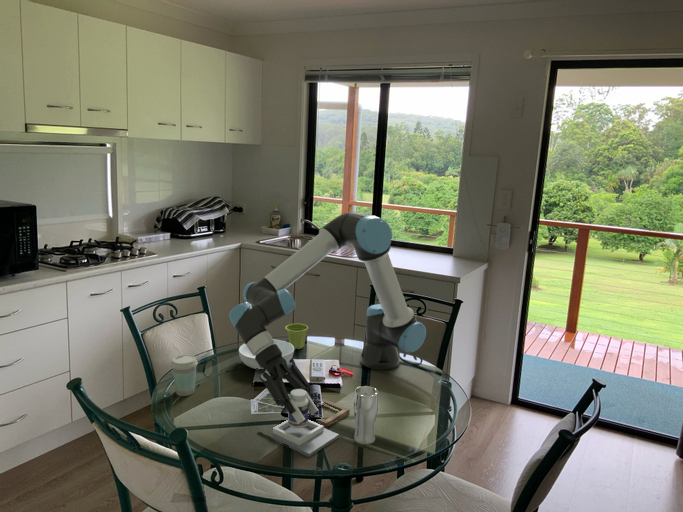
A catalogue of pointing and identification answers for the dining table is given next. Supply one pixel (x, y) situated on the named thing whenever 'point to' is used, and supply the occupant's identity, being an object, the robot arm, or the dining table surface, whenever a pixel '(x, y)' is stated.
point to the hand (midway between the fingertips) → (308, 416)
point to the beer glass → (365, 414)
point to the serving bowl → (250, 360)
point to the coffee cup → (184, 374)
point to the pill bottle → (302, 404)
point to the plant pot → (297, 335)
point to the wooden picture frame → (335, 417)
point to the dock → (304, 437)
